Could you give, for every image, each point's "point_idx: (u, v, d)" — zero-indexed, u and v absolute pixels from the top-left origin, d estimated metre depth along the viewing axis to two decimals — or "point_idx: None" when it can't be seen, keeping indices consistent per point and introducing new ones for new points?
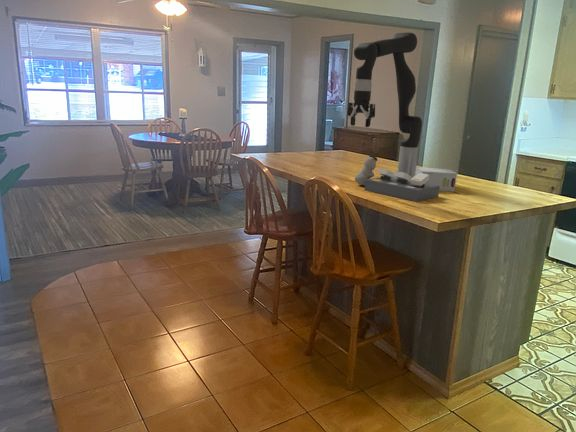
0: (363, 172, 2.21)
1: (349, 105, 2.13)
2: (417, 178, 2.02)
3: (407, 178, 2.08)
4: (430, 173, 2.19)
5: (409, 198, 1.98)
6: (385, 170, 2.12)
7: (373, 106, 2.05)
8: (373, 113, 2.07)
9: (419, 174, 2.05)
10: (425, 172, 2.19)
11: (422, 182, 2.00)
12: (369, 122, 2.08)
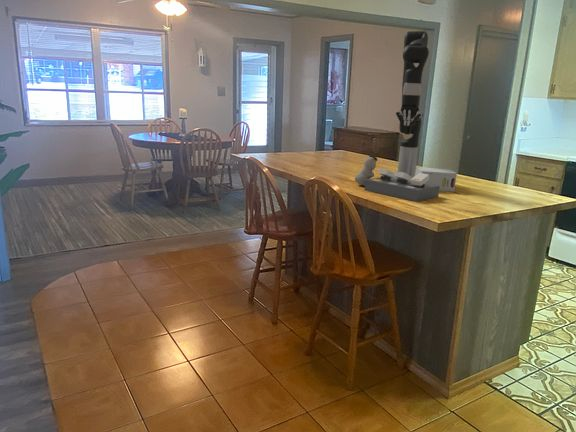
0: (363, 172, 2.21)
1: (397, 114, 2.05)
2: (417, 178, 2.02)
3: (407, 178, 2.08)
4: (430, 173, 2.19)
5: (409, 198, 1.98)
6: (385, 170, 2.12)
7: (420, 116, 1.98)
8: (416, 121, 2.01)
9: (419, 174, 2.05)
10: (425, 172, 2.19)
11: (422, 182, 2.00)
12: (410, 129, 2.03)
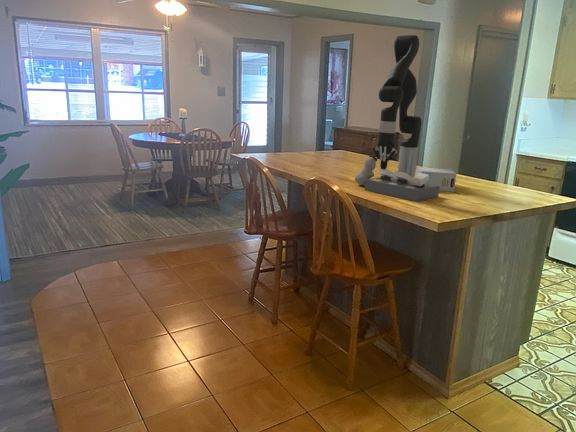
0: (363, 172, 2.21)
1: (374, 150, 2.14)
2: (417, 178, 2.02)
3: (407, 178, 2.08)
4: (429, 173, 2.19)
5: (409, 198, 1.98)
6: (385, 170, 2.12)
7: (395, 153, 2.07)
8: (391, 157, 2.10)
9: (419, 174, 2.05)
10: (424, 172, 2.20)
11: (422, 182, 2.00)
12: (386, 165, 2.12)
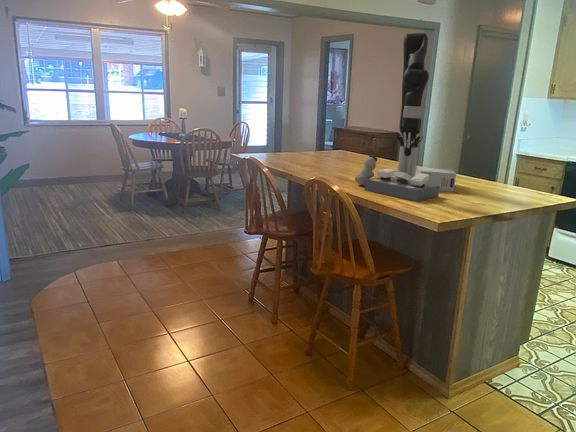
0: (363, 172, 2.21)
1: (398, 136, 2.06)
2: (417, 178, 2.02)
3: (407, 178, 2.08)
4: (429, 173, 2.20)
5: (409, 198, 1.98)
6: (384, 173, 2.12)
7: (420, 139, 2.00)
8: (416, 143, 2.02)
9: (419, 174, 2.05)
10: (424, 172, 2.20)
11: (422, 182, 2.00)
12: (410, 151, 2.04)
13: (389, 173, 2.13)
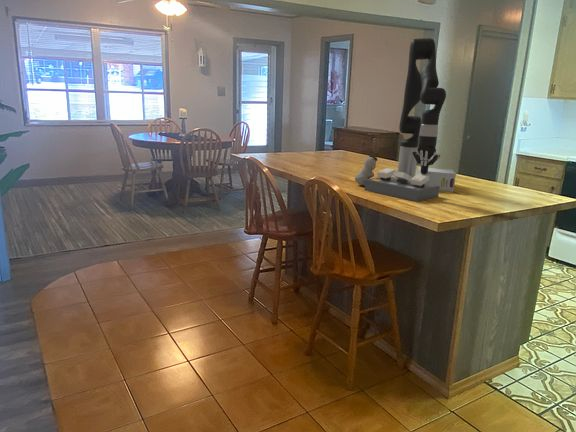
0: (363, 172, 2.21)
1: (414, 154, 2.05)
2: (417, 178, 2.02)
3: (407, 178, 2.08)
4: (428, 173, 2.20)
5: (409, 198, 1.98)
6: (384, 174, 2.12)
7: (437, 157, 1.98)
8: None
9: (419, 174, 2.05)
10: None
11: (422, 182, 2.00)
12: (427, 169, 2.03)
13: (389, 173, 2.13)
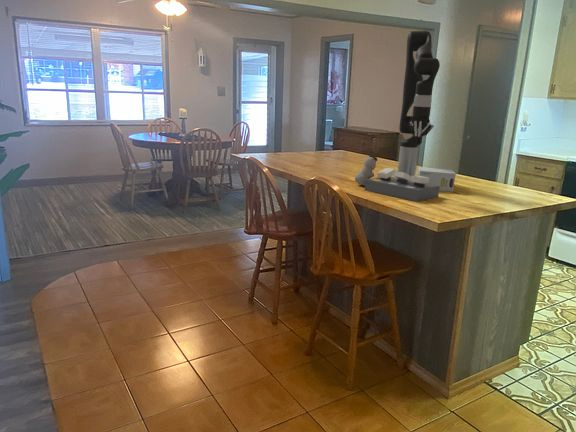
0: (363, 172, 2.21)
1: (408, 125, 2.08)
2: (418, 176, 2.02)
3: (407, 178, 2.08)
4: (428, 173, 2.20)
5: (409, 198, 1.98)
6: (384, 174, 2.12)
7: (431, 128, 2.01)
8: None
9: (420, 176, 2.05)
10: (423, 172, 2.20)
11: (422, 180, 2.00)
12: (421, 140, 2.06)
13: (389, 173, 2.13)
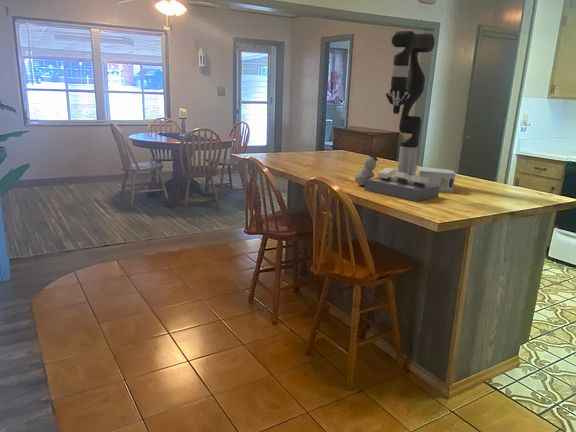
0: (363, 172, 2.21)
1: (387, 95, 2.21)
2: None
3: (407, 178, 2.08)
4: (427, 173, 2.20)
5: (409, 198, 1.98)
6: (384, 174, 2.12)
7: (407, 97, 2.15)
8: (404, 101, 2.17)
9: None
10: (422, 171, 2.20)
11: (422, 180, 2.00)
12: (398, 109, 2.19)
13: (389, 173, 2.13)
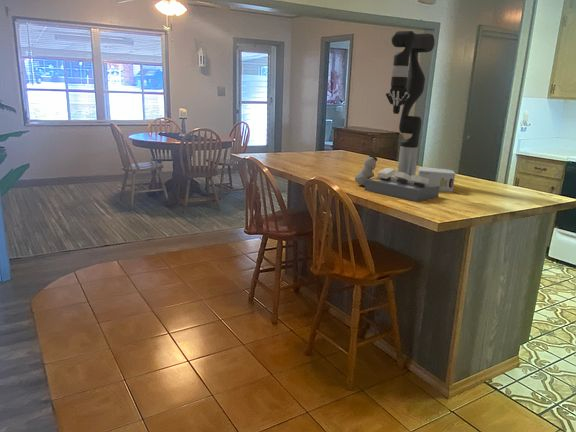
0: (363, 172, 2.21)
1: (387, 95, 2.21)
2: None
3: (407, 178, 2.08)
4: (427, 173, 2.20)
5: (409, 198, 1.98)
6: (384, 174, 2.12)
7: (407, 97, 2.15)
8: (404, 101, 2.17)
9: None
10: (422, 171, 2.21)
11: (422, 180, 2.00)
12: (398, 109, 2.19)
13: (389, 173, 2.13)
